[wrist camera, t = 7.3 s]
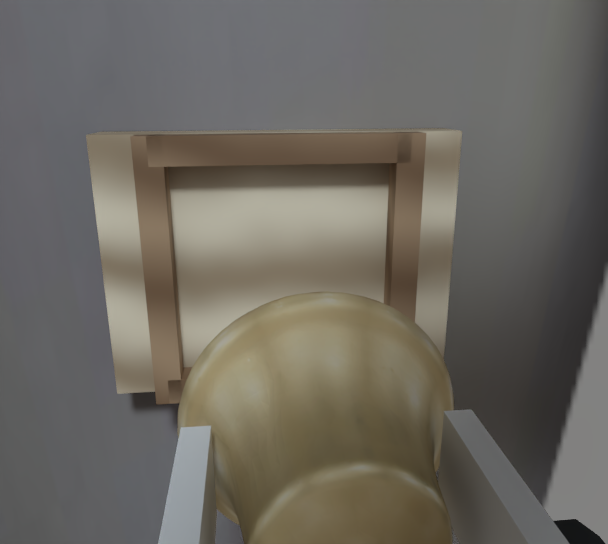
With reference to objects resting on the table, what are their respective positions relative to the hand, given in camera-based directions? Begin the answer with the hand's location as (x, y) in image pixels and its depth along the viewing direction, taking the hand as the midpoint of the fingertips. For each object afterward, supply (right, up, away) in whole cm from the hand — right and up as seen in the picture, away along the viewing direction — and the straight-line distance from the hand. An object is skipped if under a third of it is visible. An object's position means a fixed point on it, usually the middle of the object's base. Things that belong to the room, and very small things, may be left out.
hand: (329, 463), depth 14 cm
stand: (-2, +6, +20) cm, 21 cm away
